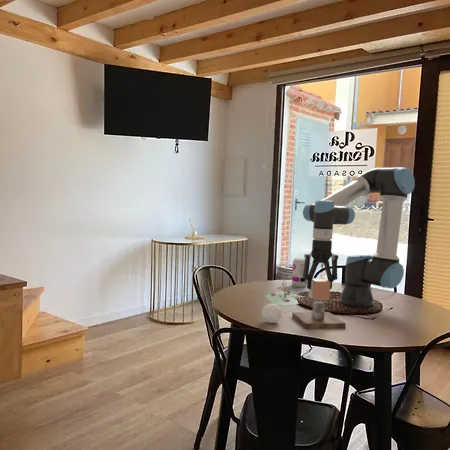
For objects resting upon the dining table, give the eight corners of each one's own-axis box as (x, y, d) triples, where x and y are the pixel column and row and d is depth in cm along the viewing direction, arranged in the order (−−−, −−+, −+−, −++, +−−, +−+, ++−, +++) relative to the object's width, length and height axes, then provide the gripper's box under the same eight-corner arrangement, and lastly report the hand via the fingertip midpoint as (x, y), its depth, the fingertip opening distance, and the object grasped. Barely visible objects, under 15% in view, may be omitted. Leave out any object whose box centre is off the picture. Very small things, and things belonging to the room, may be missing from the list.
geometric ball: (270, 331, 174) (263, 317, 170) (263, 318, 181) (256, 304, 177) (287, 321, 174) (280, 307, 170) (280, 309, 181) (273, 296, 177)
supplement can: (291, 286, 244) (293, 259, 243) (292, 283, 252) (293, 257, 251) (306, 288, 243) (308, 260, 242) (306, 284, 251) (307, 258, 250)
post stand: (328, 316, 187) (329, 297, 187) (345, 328, 172) (346, 307, 171) (292, 317, 184) (293, 298, 184) (306, 329, 169) (307, 308, 168)
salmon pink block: (323, 295, 181) (324, 278, 180) (329, 299, 175) (330, 281, 174) (308, 295, 180) (309, 278, 179) (314, 299, 173) (315, 281, 173)
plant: (309, 308, 202) (310, 288, 201) (263, 305, 204) (264, 286, 203) (304, 295, 227) (305, 278, 226) (263, 293, 228) (264, 276, 228)
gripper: (302, 239, 170) (299, 299, 172) (349, 241, 174) (345, 299, 175) (295, 237, 177) (292, 294, 179) (340, 239, 181) (337, 294, 183)
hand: (318, 296), depth 177 cm, fingers closed on salmon pink block, 6 cm apart
